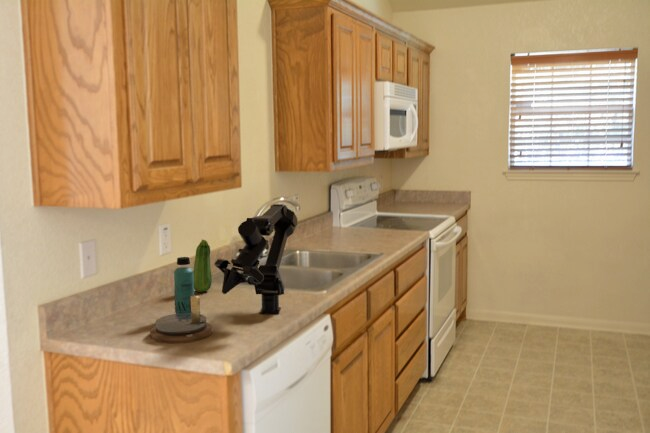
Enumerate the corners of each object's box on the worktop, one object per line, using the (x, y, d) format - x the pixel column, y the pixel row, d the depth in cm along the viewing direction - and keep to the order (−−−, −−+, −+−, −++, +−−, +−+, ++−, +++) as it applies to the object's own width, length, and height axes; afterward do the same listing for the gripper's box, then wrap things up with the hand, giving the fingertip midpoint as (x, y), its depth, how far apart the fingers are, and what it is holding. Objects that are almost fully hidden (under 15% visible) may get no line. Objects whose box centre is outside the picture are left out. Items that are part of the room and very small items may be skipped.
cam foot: (145, 330, 200) (143, 296, 199) (180, 318, 213) (179, 286, 211) (182, 338, 192) (180, 302, 191) (217, 325, 205) (215, 291, 203)
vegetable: (189, 291, 255) (187, 239, 252) (206, 288, 259) (204, 237, 257) (198, 295, 249) (196, 241, 247) (215, 291, 254) (213, 239, 251)
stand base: (144, 330, 206) (144, 324, 206) (201, 321, 215) (201, 316, 214) (159, 346, 191) (159, 340, 190) (220, 336, 199) (220, 331, 199)
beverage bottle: (171, 317, 220) (168, 257, 217) (188, 313, 224) (186, 254, 222) (182, 321, 215) (179, 260, 212) (199, 317, 220) (197, 257, 217)
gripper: (285, 271, 208) (257, 313, 202) (248, 263, 221) (221, 302, 215) (264, 250, 201) (235, 292, 195) (228, 243, 215) (199, 282, 209)
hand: (223, 293), depth 204 cm, fingers closed
